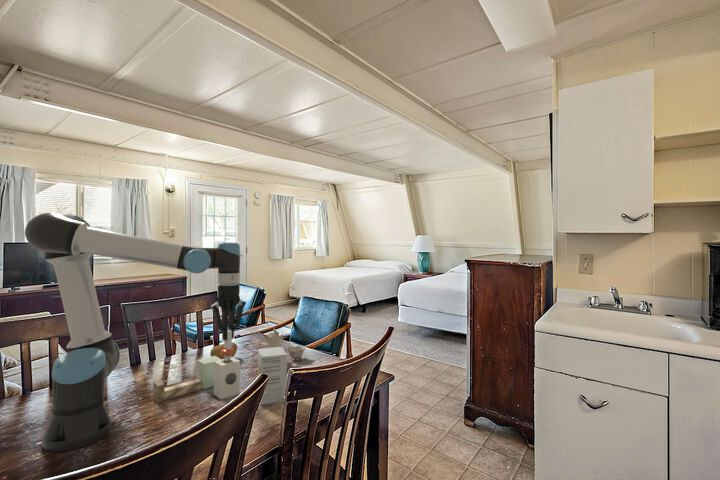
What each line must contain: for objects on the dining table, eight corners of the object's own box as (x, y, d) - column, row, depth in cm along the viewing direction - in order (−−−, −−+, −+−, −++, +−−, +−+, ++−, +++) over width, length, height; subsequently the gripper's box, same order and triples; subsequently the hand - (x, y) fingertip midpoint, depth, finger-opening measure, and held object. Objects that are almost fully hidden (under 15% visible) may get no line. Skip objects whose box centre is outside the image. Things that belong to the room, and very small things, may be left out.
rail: (157, 403, 118) (158, 385, 117) (153, 398, 121) (153, 381, 121) (229, 381, 137) (230, 366, 137) (224, 377, 140) (224, 363, 140)
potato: (243, 357, 164) (243, 341, 164) (221, 367, 151) (221, 349, 151) (227, 354, 168) (227, 338, 168) (204, 364, 155) (204, 346, 155)
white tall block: (221, 399, 121) (222, 366, 121) (213, 394, 125) (214, 361, 125) (240, 393, 126) (240, 361, 126) (231, 388, 130) (232, 356, 130)
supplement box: (256, 393, 126) (257, 348, 126) (281, 390, 130) (282, 345, 130) (259, 405, 117) (260, 356, 117) (286, 401, 121) (287, 353, 121)
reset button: (224, 364, 123) (224, 352, 123) (218, 361, 126) (218, 349, 126) (235, 361, 126) (236, 349, 126) (230, 358, 129) (230, 347, 129)
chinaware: (281, 382, 140) (286, 343, 140) (245, 374, 144) (250, 335, 143) (307, 359, 168) (311, 326, 167) (276, 353, 171) (279, 320, 171)
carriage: (203, 389, 128) (203, 364, 128) (196, 384, 132) (197, 359, 132) (221, 383, 134) (221, 359, 133) (214, 379, 138) (215, 355, 138)
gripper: (215, 287, 118) (214, 354, 118) (250, 283, 128) (249, 346, 128) (206, 284, 123) (205, 349, 124) (240, 281, 133) (239, 342, 133)
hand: (227, 348), depth 126 cm, fingers closed
